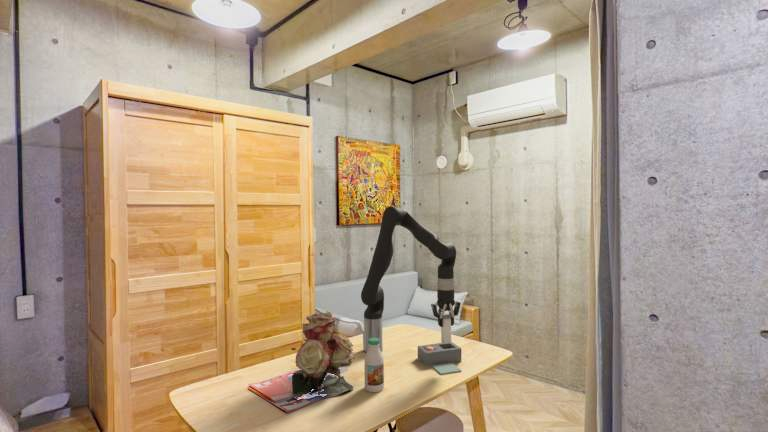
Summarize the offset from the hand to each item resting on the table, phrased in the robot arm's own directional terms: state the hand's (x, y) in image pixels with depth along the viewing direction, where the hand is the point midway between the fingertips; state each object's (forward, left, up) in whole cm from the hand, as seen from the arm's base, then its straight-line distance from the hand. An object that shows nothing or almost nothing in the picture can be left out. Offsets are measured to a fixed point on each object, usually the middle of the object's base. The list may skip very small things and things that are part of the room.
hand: (446, 325), depth 178 cm
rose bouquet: (-55, +3, -20) cm, 58 cm away
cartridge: (0, 0, -7) cm, 7 cm away
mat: (0, 0, -20) cm, 20 cm away
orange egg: (-3, +11, -19) cm, 22 cm away
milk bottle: (-36, -7, -20) cm, 42 cm away
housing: (+2, +11, -20) cm, 23 cm away
